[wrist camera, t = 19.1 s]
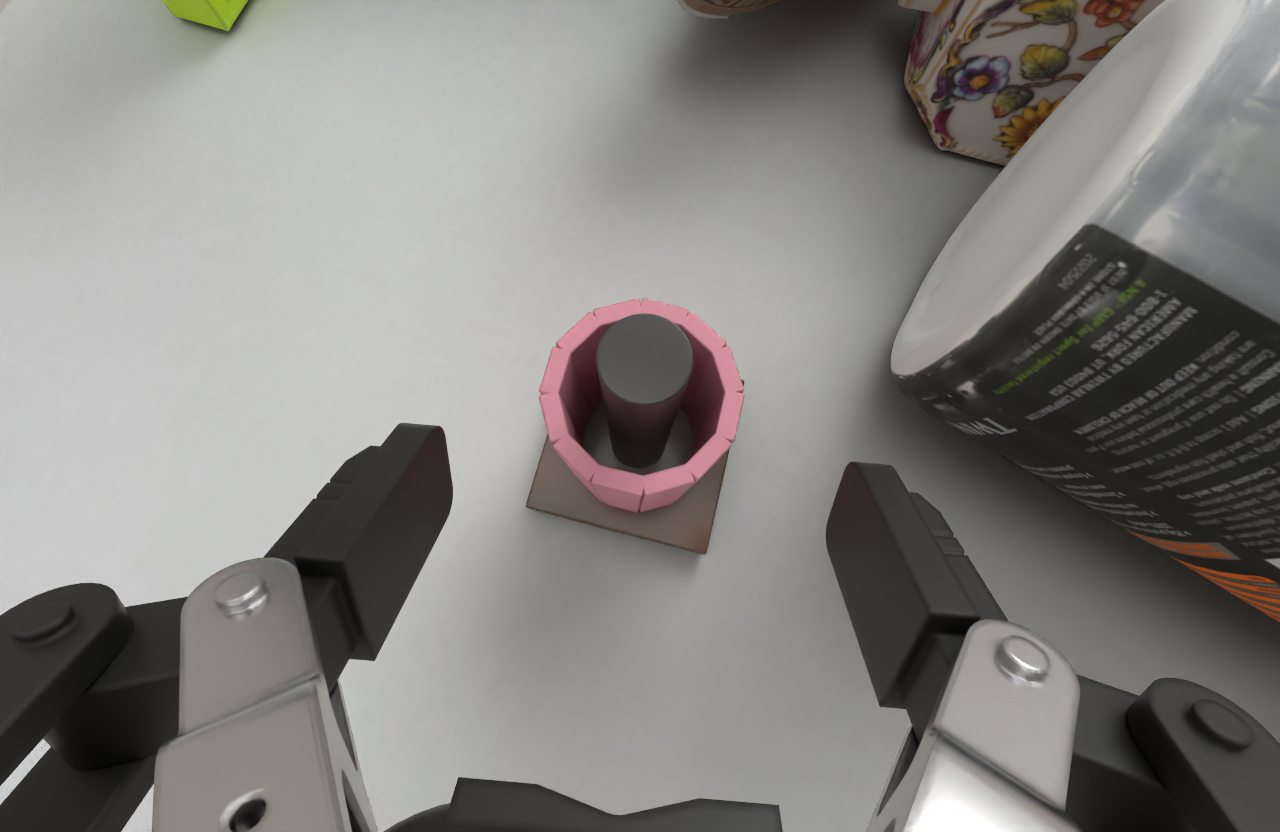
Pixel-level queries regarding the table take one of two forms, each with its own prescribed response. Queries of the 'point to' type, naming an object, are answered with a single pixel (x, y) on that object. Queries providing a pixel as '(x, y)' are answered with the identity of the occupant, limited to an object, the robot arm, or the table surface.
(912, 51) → the decorative jar
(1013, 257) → the supplement tub
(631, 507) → the pink hollow tube
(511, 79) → the table surface
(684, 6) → the sneaker
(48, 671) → the robot arm
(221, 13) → the box
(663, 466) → the peg stand
